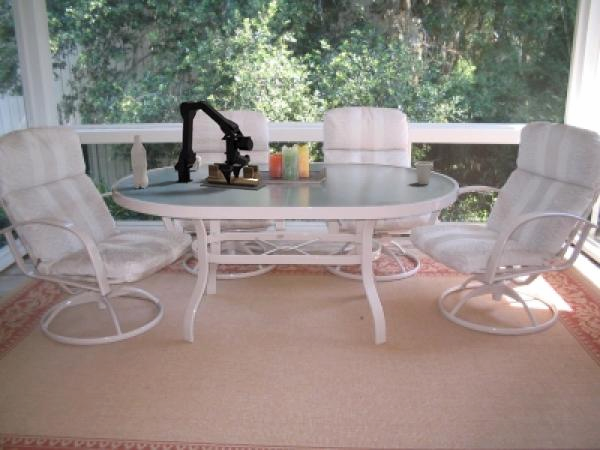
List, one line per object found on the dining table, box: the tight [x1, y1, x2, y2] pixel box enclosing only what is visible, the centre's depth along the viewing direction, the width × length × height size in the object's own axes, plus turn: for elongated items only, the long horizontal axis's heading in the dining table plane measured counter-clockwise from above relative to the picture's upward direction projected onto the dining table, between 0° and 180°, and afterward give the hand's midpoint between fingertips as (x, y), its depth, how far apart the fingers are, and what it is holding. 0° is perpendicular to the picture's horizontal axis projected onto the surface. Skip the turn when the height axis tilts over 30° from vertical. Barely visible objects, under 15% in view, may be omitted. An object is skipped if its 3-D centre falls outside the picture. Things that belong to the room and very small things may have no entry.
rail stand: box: [205, 162, 263, 182], centre depth 300 cm, size 9×27×8 cm, turn 71°
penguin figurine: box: [191, 154, 202, 172], centre depth 329 cm, size 6×8×12 cm
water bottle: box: [130, 134, 149, 190], centre depth 283 cm, size 7×7×25 cm
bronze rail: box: [206, 175, 260, 187], centre depth 289 cm, size 4×26×4 cm, turn 70°
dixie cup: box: [415, 161, 433, 185], centre depth 293 cm, size 8×8×10 cm
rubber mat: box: [200, 181, 267, 191], centre depth 290 cm, size 11×30×1 cm, turn 71°
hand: (232, 181), depth 289 cm, fingers open, 8 cm apart
